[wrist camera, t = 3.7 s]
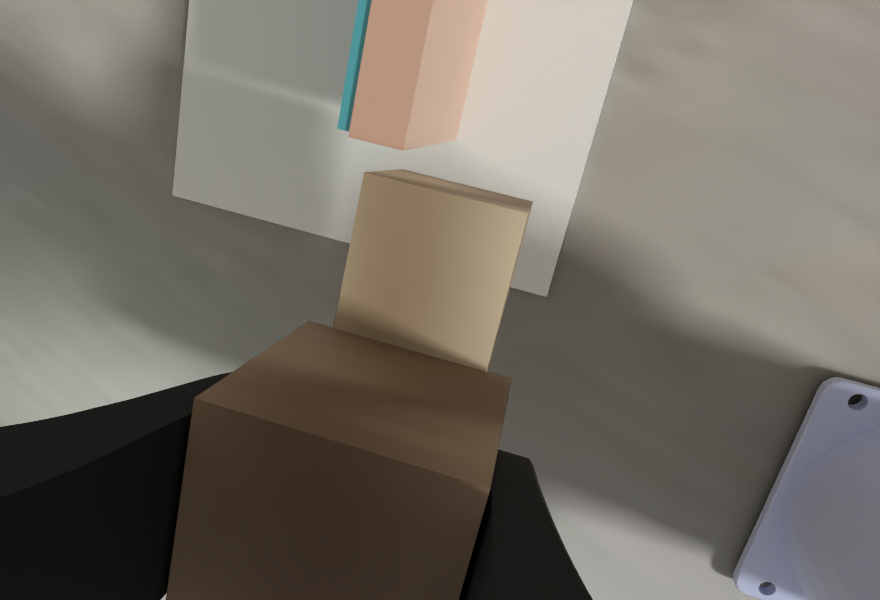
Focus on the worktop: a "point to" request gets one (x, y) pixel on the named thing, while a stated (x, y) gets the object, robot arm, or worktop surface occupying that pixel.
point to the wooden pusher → (362, 417)
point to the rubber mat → (346, 159)
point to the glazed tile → (410, 70)
